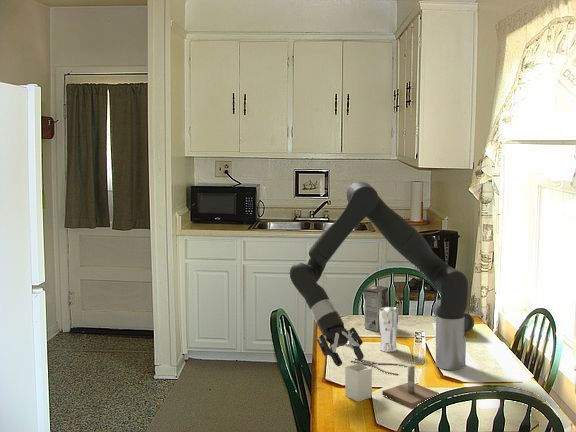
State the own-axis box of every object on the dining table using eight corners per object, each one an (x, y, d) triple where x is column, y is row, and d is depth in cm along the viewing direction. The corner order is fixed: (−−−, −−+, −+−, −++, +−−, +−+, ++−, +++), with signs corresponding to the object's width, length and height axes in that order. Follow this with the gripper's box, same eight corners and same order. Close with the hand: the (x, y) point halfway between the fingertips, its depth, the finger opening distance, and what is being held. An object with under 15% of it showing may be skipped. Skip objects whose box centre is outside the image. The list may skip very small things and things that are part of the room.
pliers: (403, 374, 225) (344, 367, 233) (402, 377, 225) (344, 369, 233) (410, 365, 234) (353, 358, 242) (409, 367, 234) (353, 360, 242)
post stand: (410, 386, 216) (410, 357, 215) (439, 398, 206) (440, 367, 205) (382, 395, 209) (382, 365, 208) (411, 408, 199) (411, 376, 198)
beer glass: (401, 349, 252) (402, 308, 250) (390, 353, 247) (391, 312, 245) (386, 345, 257) (386, 305, 255) (374, 349, 252) (375, 309, 250)
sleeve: (359, 391, 212) (359, 363, 211) (371, 397, 208) (371, 368, 207) (345, 395, 209) (345, 367, 208) (357, 401, 205) (357, 372, 204)
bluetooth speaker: (475, 336, 266) (476, 311, 264) (452, 338, 264) (452, 312, 263) (452, 320, 288) (453, 296, 286) (431, 321, 286) (431, 297, 285)
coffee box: (375, 323, 285) (375, 284, 283) (389, 325, 281) (389, 286, 279) (364, 328, 278) (364, 289, 276) (378, 331, 274) (378, 291, 272)
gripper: (314, 314, 211) (338, 361, 203) (349, 307, 219) (374, 351, 212) (303, 327, 216) (327, 373, 208) (338, 319, 224) (362, 363, 217)
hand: (351, 362), depth 210 cm, fingers open, 8 cm apart
